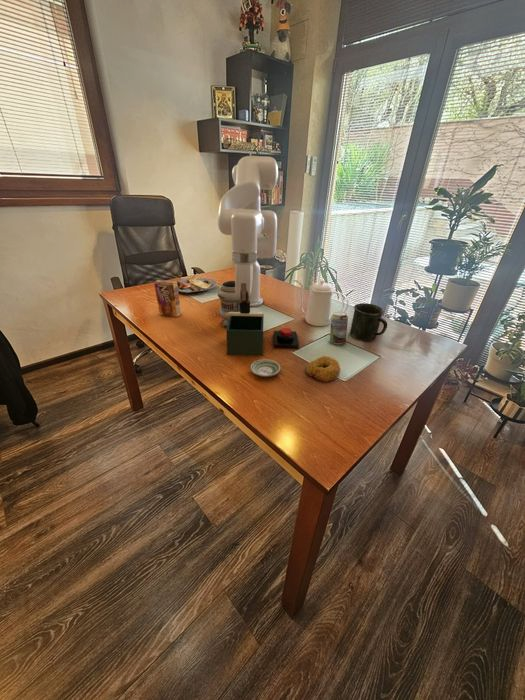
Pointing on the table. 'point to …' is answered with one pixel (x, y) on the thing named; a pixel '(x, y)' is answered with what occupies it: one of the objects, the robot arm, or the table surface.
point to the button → (286, 332)
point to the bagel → (324, 368)
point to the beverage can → (338, 327)
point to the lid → (244, 314)
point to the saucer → (265, 368)
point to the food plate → (195, 284)
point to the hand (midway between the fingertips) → (245, 312)
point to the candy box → (167, 298)
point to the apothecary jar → (228, 301)
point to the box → (245, 335)
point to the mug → (367, 322)
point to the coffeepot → (319, 303)
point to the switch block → (285, 340)
